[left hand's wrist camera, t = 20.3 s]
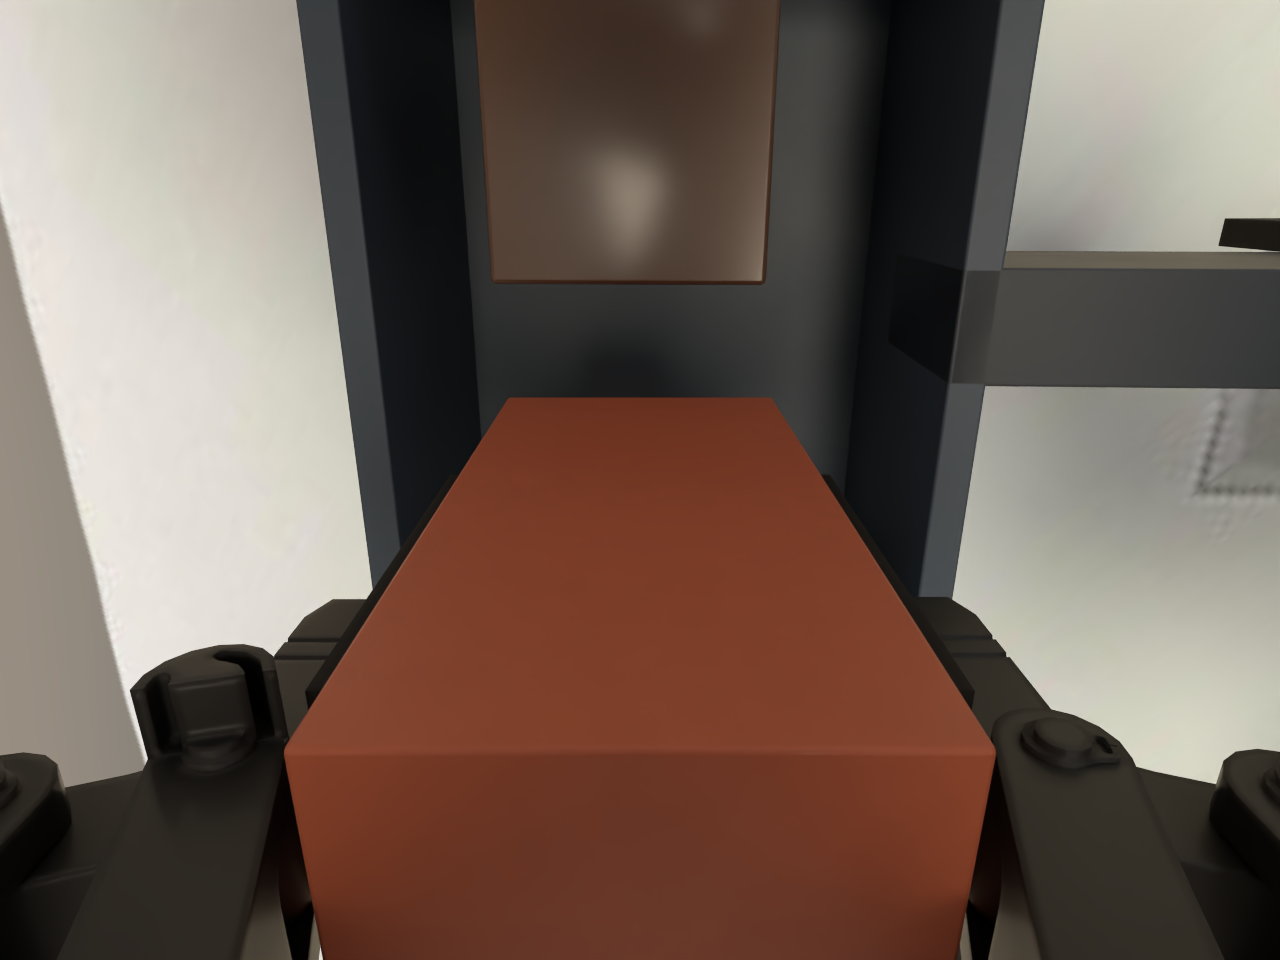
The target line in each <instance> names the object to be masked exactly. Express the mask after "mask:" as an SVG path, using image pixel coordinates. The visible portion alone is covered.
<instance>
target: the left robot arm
mask: <svg viewBox="0 0 1280 960" xmlns="http://www.w3.org/2000/svg"><path fill="white" fill-rule="evenodd" d="M458 476H459V475H450V476H449V477H448V479H447V480H446V482H445V483H444V485H443V486H442V488H441V489H440V491H439V492H438V494H437V495H436V497H435V498H434V500H433V501H432V503H431V504H430V506H429V507H428V509H427V510H426V512H425V513H424V514H423V516H422V517H421V519H420V520H419V522H418V523H417V525H416V526H415V528H414V529H413V531H412V532H411V534H410V535H409V537H408V538H407V540H406V541H405V543H404V544H403V546H402V547H401V549H400V550H399V552H398V553H397V555H396V556H395V558H394V559H393V561H392V562H391V564H390V565H389V567H388V568H387V570H386V571H385V572H384V574H383V575H382V577H381V578H380V580H379V581H378V583H377V584H376V586H375V587H374V589H373V590H372V592H371V593H370V595H369V596H368V598H367V599H333V600H331V601H329V602H328V603H326V604H325V605H323V606H322V607H320V608H318V609H317V610H315V611H314V612H312V613H311V614H309V615H307V616H306V617H304V619H303V620H302V621H301V622H300V624H299V625H298V626H297V627H296V629H295V630H294V631H293V633H292V634H291V635H290V636H289V638H288V642H285V643H284V644H283V645H282V646H281V648H280V649H279V650H278V652H277V653H276V654H275V655H274V657H273V656H272V655H271V654H269V653H268V652H267V651H266V650H264V649H263V648H259V647H254V646H249V645H245V644H236V645H217V646H213V647H208V648H203V649H199V650H194V651H190V652H188V653H185V654H183V655H180V656H178V657H175V658H173V659H170V660H168V661H165V662H163V663H162V664H160V665H159V666H157V667H156V668H154V669H152V670H151V671H149V672H148V673H146V674H144V675H143V676H142V677H141V678H140V679H139V681H138V682H137V683H136V684H135V685H134V686H133V687H132V688H131V689H130V693H131V697H132V700H133V704H134V708H135V712H136V716H137V719H138V723H139V727H140V731H141V734H142V738H143V742H144V746H145V750H146V753H147V757H148V760H147V762H146V765H145V767H144V769H143V771H139V772H136V773H132V774H129V775H124V776H119V777H114V778H109V779H105V780H100V781H95V782H90V783H85V784H80V785H76V786H71V787H66V788H65V787H64V784H63V780H62V777H61V774H60V771H59V768H58V765H57V764H56V763H55V762H54V761H52V760H51V759H50V758H48V757H47V756H46V755H39V754H32V753H16V754H8V755H1V756H0V960H319V952H320V941H319V935H318V930H317V925H316V920H315V914H314V909H313V904H312V899H311V894H310V888H309V883H308V878H307V873H306V867H305V862H304V857H303V852H302V846H301V841H300V836H299V831H298V825H297V820H296V815H295V810H294V805H293V799H292V794H291V789H290V784H289V778H288V773H287V768H286V763H285V757H284V750H285V747H286V745H287V743H288V742H289V740H290V739H291V737H292V735H293V734H294V732H295V731H296V729H297V728H298V726H299V725H300V723H301V721H302V720H303V718H304V717H305V715H306V714H307V712H308V710H309V709H310V707H311V706H312V704H313V703H314V701H315V700H316V698H317V696H318V695H319V693H320V692H321V690H322V689H323V687H324V685H325V684H326V682H327V681H328V679H329V678H330V676H331V675H332V673H333V671H334V670H335V668H336V667H337V665H338V664H339V662H340V660H341V659H342V657H343V656H344V654H345V653H346V651H347V650H348V648H349V646H350V645H351V643H352V642H353V640H354V639H355V637H356V635H357V634H358V632H359V631H360V629H361V628H362V626H363V625H364V623H365V621H366V620H367V618H368V617H369V615H370V614H371V612H372V611H373V609H374V607H375V606H376V604H377V603H378V601H379V600H380V598H381V596H382V595H383V593H384V592H385V590H386V589H387V587H388V586H389V584H390V582H391V581H392V579H393V578H394V576H395V575H396V573H397V571H398V570H399V568H400V567H401V565H402V564H403V562H404V561H405V559H406V557H407V556H408V554H409V553H410V551H411V550H412V548H413V546H414V545H415V543H416V542H417V540H418V539H419V537H420V536H421V534H422V532H423V531H424V529H425V528H426V526H427V525H428V523H429V521H430V520H431V518H432V517H433V515H434V514H435V512H436V511H437V509H438V507H439V506H440V504H441V503H442V501H443V500H444V498H445V496H446V495H447V493H448V492H449V490H450V489H451V487H452V486H453V484H454V482H455V481H456V479H457V478H458ZM821 476H822V478H823V479H824V481H825V482H826V484H827V486H828V487H829V489H830V490H831V492H832V493H833V495H834V496H835V498H836V500H837V501H838V503H839V504H840V506H841V507H842V509H843V511H844V512H845V514H846V515H847V517H848V518H849V520H850V521H851V523H852V525H853V526H854V528H855V529H856V531H857V532H858V534H859V536H860V537H861V539H862V540H863V542H864V543H865V545H866V546H867V548H868V550H869V551H870V553H871V554H872V556H873V557H874V559H875V561H876V562H877V564H878V565H879V567H880V568H881V570H882V572H883V573H884V575H885V576H886V578H887V579H888V581H889V582H890V584H891V586H892V587H893V589H894V590H895V592H896V593H897V595H898V597H899V598H900V600H901V601H902V603H903V604H904V606H905V607H906V609H907V611H908V612H909V614H910V615H911V617H912V618H913V620H914V622H915V623H916V625H917V626H918V628H919V629H920V631H921V632H922V634H923V636H924V637H925V639H926V640H927V642H928V643H929V645H930V647H931V648H932V650H933V651H934V653H935V654H936V656H937V657H938V659H939V661H940V662H941V664H942V665H943V667H944V668H945V670H946V672H947V673H948V675H949V676H950V678H951V679H952V681H953V683H954V684H955V686H956V687H957V689H958V690H959V692H960V693H961V695H962V697H963V698H964V700H965V701H966V703H967V704H968V706H969V708H970V709H971V711H972V712H973V714H974V715H975V717H976V718H977V720H978V722H979V723H980V725H981V726H982V728H983V729H984V731H985V733H986V734H987V736H988V737H989V739H990V740H991V742H992V743H993V745H994V747H995V750H996V757H995V762H994V767H993V773H992V778H991V783H990V788H989V794H988V799H987V804H986V809H985V815H984V820H983V825H982V830H981V835H980V841H979V846H978V851H977V856H976V862H975V867H974V872H973V877H972V883H971V888H970V893H969V898H968V904H967V909H966V914H965V919H964V924H963V930H962V935H961V940H960V945H959V951H958V956H957V960H961V959H962V960H1280V752H1277V751H1269V750H1262V749H1253V750H1245V751H1237V752H1235V753H1233V754H1232V755H1231V756H1229V757H1228V758H1227V759H1225V760H1224V761H1223V764H1222V767H1221V771H1220V774H1219V777H1218V780H1217V783H1216V784H1212V783H1207V782H1202V781H1197V780H1192V779H1187V778H1183V777H1178V776H1173V775H1168V774H1163V773H1158V772H1154V771H1150V770H1146V769H1142V768H1139V767H1136V765H1135V763H1134V761H1133V759H1132V757H1131V756H1130V755H1129V753H1128V752H1127V751H1126V749H1125V748H1124V747H1123V745H1122V744H1121V743H1120V741H1118V740H1117V739H1115V738H1114V737H1113V736H1111V735H1110V734H1109V733H1107V732H1106V731H1104V730H1103V729H1102V728H1100V727H1099V726H1097V725H1094V724H1092V723H1090V722H1088V721H1086V720H1083V719H1081V718H1079V717H1077V716H1075V715H1071V714H1067V713H1063V712H1059V711H1055V710H1051V709H1050V707H1049V706H1048V705H1047V704H1046V702H1045V701H1044V700H1043V698H1042V697H1041V696H1040V695H1039V693H1038V692H1037V691H1036V690H1035V688H1034V687H1033V686H1032V685H1031V683H1030V682H1029V681H1028V680H1027V678H1026V677H1025V676H1024V675H1023V673H1022V672H1021V671H1020V670H1019V668H1018V667H1017V666H1016V665H1015V663H1014V662H1013V661H1012V660H1011V658H1010V657H1006V652H1005V651H1004V649H1003V648H1002V647H1001V646H1000V644H999V643H998V642H997V641H996V640H993V639H992V634H991V633H990V632H989V631H988V629H987V628H986V627H985V626H984V624H983V623H982V622H981V621H980V619H979V618H978V617H977V616H976V614H974V613H972V612H971V611H969V610H968V609H966V608H964V607H963V606H961V605H960V604H958V603H956V602H955V601H953V600H952V599H950V598H949V597H912V596H911V595H910V593H909V592H908V590H907V589H906V587H905V586H904V584H903V583H902V581H901V580H900V578H899V577H898V576H897V574H896V573H895V571H894V570H893V568H892V567H891V565H890V564H889V562H888V561H887V559H886V558H885V556H884V555H883V553H882V552H881V550H880V549H879V547H878V546H877V544H876V543H875V541H874V540H873V538H872V537H871V535H870V534H869V532H868V531H867V529H866V528H865V526H864V525H863V523H862V522H861V520H860V519H859V518H858V516H857V515H856V513H855V512H854V510H853V509H852V507H851V506H850V504H849V503H848V501H847V500H846V498H845V497H844V495H843V494H842V492H841V491H840V489H839V488H838V486H837V485H836V483H835V482H834V480H833V479H832V477H831V476H830V475H821Z"/></svg>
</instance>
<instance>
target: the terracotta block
mask: <svg viewBox="0 0 1280 960" xmlns="http://www.w3.org/2000/svg"><path fill="white" fill-rule="evenodd" d="M284 757H285V763H286V768H287V773H288V778H289V784H290V789H291V794H292V799H293V805H294V810H295V815H296V820H297V825H298V831H299V836H300V841H301V846H302V852H303V857H304V862H305V867H306V873H307V878H308V883H309V888H310V894H311V899H312V904H313V909H314V914H315V920H316V925H317V930H318V935H319V941H320V946H321V951H322V956H323V960H957V956H958V951H959V945H960V940H961V935H962V930H963V924H964V919H965V914H966V909H967V904H968V898H969V893H970V888H971V883H972V877H973V872H974V867H975V862H976V856H977V851H978V846H979V841H980V835H981V830H982V825H983V820H984V815H985V809H986V804H987V799H988V794H989V788H990V783H991V778H992V773H993V767H994V762H995V757H996V750H995V747H994V745H993V743H992V742H991V740H990V739H989V737H988V736H987V734H986V733H985V731H984V729H983V728H982V726H981V725H980V723H979V722H978V720H977V718H976V717H975V715H974V714H973V712H972V711H971V709H970V708H969V706H968V704H967V703H966V701H965V700H964V698H963V697H962V695H961V693H960V692H959V690H958V689H957V687H956V686H955V684H954V683H953V681H952V679H951V678H950V676H949V675H948V673H947V672H946V670H945V668H944V667H943V665H942V664H941V662H940V661H939V659H938V657H937V656H936V654H935V653H934V651H933V650H932V648H931V647H930V645H929V643H928V642H927V640H926V639H925V637H924V636H923V634H922V632H921V631H920V629H919V628H918V626H917V625H916V623H915V622H914V620H913V618H912V617H911V615H910V614H909V612H908V611H907V609H906V607H905V606H904V604H903V603H902V601H901V600H900V598H899V597H898V595H897V593H896V592H895V590H894V589H893V587H892V586H891V584H890V582H889V581H888V579H887V578H886V576H885V575H884V573H883V572H882V570H881V568H880V567H879V565H878V564H877V562H876V561H875V559H874V557H873V556H872V554H871V553H870V551H869V550H868V548H867V546H866V545H865V543H864V542H863V540H862V539H861V537H860V536H859V534H858V532H857V531H856V529H855V528H854V526H853V525H852V523H851V521H850V520H849V518H848V517H847V515H846V514H845V512H844V511H843V509H842V507H841V506H840V504H839V503H838V501H837V500H836V498H835V496H834V495H833V493H832V492H831V490H830V489H829V487H828V486H827V484H826V482H825V481H824V479H823V478H822V476H821V475H820V473H819V471H818V470H817V468H816V467H815V465H814V464H813V462H812V461H811V459H810V457H809V456H808V454H807V453H806V451H805V450H804V448H803V446H802V445H801V443H800V442H799V440H798V439H797V437H796V436H795V434H794V432H793V431H792V429H791V428H790V426H789V425H788V423H787V421H786V420H785V418H784V417H783V415H782V414H781V412H780V410H779V409H778V407H777V406H776V404H775V403H774V401H773V400H772V398H508V400H507V401H506V403H505V404H504V406H503V407H502V409H501V411H500V412H499V414H498V415H497V417H496V418H495V420H494V421H493V423H492V425H491V426H490V428H489V429H488V431H487V432H486V434H485V436H484V437H483V439H482V440H481V442H480V443H479V445H478V446H477V448H476V450H475V451H474V453H473V454H472V456H471V457H470V459H469V461H468V462H467V464H466V465H465V467H464V468H463V470H462V471H461V473H460V475H459V476H458V478H457V479H456V481H455V482H454V484H453V486H452V487H451V489H450V490H449V492H448V493H447V495H446V496H445V498H444V500H443V501H442V503H441V504H440V506H439V507H438V509H437V511H436V512H435V514H434V515H433V517H432V518H431V520H430V521H429V523H428V525H427V526H426V528H425V529H424V531H423V532H422V534H421V536H420V537H419V539H418V540H417V542H416V543H415V545H414V546H413V548H412V550H411V551H410V553H409V554H408V556H407V557H406V559H405V561H404V562H403V564H402V565H401V567H400V568H399V570H398V571H397V573H396V575H395V576H394V578H393V579H392V581H391V582H390V584H389V586H388V587H387V589H386V590H385V592H384V593H383V595H382V596H381V598H380V600H379V601H378V603H377V604H376V606H375V607H374V609H373V611H372V612H371V614H370V615H369V617H368V618H367V620H366V621H365V623H364V625H363V626H362V628H361V629H360V631H359V632H358V634H357V635H356V637H355V639H354V640H353V642H352V643H351V645H350V646H349V648H348V650H347V651H346V653H345V654H344V656H343V657H342V659H341V660H340V662H339V664H338V665H337V667H336V668H335V670H334V671H333V673H332V675H331V676H330V678H329V679H328V681H327V682H326V684H325V685H324V687H323V689H322V690H321V692H320V693H319V695H318V696H317V698H316V700H315V701H314V703H313V704H312V706H311V707H310V709H309V710H308V712H307V714H306V715H305V717H304V718H303V720H302V721H301V723H300V725H299V726H298V728H297V729H296V731H295V732H294V734H293V735H292V737H291V739H290V740H289V742H288V743H287V745H286V747H285V750H284Z"/></svg>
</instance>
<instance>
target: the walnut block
mask: <svg viewBox="0 0 1280 960" xmlns="http://www.w3.org/2000/svg"><path fill="white" fill-rule="evenodd" d="M780 8H781V0H474V14H475V30H476V45H477V61H478V77H479V93H480V109H481V124H482V140H483V156H484V172H485V188H486V203H487V219H488V235H489V251H490V267H491V279H492V281H493V283H496V284H620V285H762V284H764V283H765V281H766V269H767V251H768V232H769V213H770V195H771V176H772V157H773V139H774V120H775V102H776V83H777V64H778V46H779V27H780Z"/></svg>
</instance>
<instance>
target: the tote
mask: <svg viewBox="0 0 1280 960" xmlns="http://www.w3.org/2000/svg"><path fill="white" fill-rule="evenodd" d="M296 1H297V9H298V17H299V25H300V32H301V40H302V48H303V55H304V63H305V71H306V79H307V86H308V94H309V102H310V109H311V117H312V125H313V132H314V140H315V148H316V156H317V163H318V171H319V179H320V186H321V194H322V202H323V209H324V217H325V225H326V233H327V240H328V248H329V256H330V263H331V271H332V279H333V287H334V294H335V302H336V310H337V317H338V325H339V333H340V340H341V348H342V356H343V364H344V371H345V379H346V387H347V394H348V402H349V410H350V417H351V425H352V433H353V441H354V448H355V456H356V464H357V471H358V479H359V487H360V495H361V502H362V510H363V518H364V525H365V533H366V541H367V548H368V556H369V564H370V572H371V579H372V587H373V589H374V587H375V586H376V584H377V583H378V581H379V580H380V578H381V577H382V575H383V574H384V572H385V571H386V570H387V568H388V567H389V565H390V564H391V562H392V561H393V559H394V558H395V556H396V555H397V553H398V552H399V550H400V549H401V547H402V546H403V544H404V543H405V541H406V540H407V538H408V537H409V535H410V534H411V532H412V531H413V529H414V528H415V526H416V525H417V523H418V522H419V520H420V519H421V517H422V516H423V514H424V513H425V512H426V510H427V509H428V507H429V506H430V504H431V503H432V501H433V500H434V498H435V497H436V495H437V494H438V492H439V491H440V489H441V488H442V486H443V485H444V483H445V482H446V480H447V479H448V477H449V476H450V475H460V473H461V471H462V470H463V468H464V467H465V465H466V464H467V462H468V461H469V459H470V457H471V456H472V454H473V453H474V451H475V450H476V448H477V446H478V445H479V443H480V442H481V440H482V439H483V437H484V436H485V434H486V432H487V431H488V429H489V428H490V426H491V425H492V423H493V421H494V420H495V418H496V417H497V415H498V414H499V412H500V411H501V409H502V407H503V406H504V404H505V403H506V401H507V400H508V398H772V400H773V401H774V403H775V404H776V406H777V407H778V409H779V410H780V412H781V414H782V415H783V417H784V418H785V420H786V421H787V423H788V425H789V426H790V428H791V429H792V431H793V432H794V434H795V436H796V437H797V439H798V440H799V442H800V443H801V445H802V446H803V448H804V450H805V451H806V453H807V454H808V456H809V457H810V459H811V461H812V462H813V464H814V465H815V467H816V468H817V470H818V471H819V473H820V475H830V476H831V477H832V479H833V480H834V482H835V483H836V485H837V486H838V488H839V489H840V491H841V492H842V494H843V495H844V497H845V498H846V500H847V501H848V503H849V504H850V506H851V507H852V509H853V510H854V512H855V513H856V515H857V516H858V518H859V519H860V520H861V522H862V523H863V525H864V526H865V528H866V529H867V531H868V532H869V534H870V535H871V537H872V538H873V540H874V541H875V543H876V544H877V546H878V547H879V549H880V550H881V552H882V553H883V555H884V556H885V558H886V559H887V561H888V562H889V564H890V565H891V567H892V568H893V570H894V571H895V573H896V574H897V576H898V577H899V578H900V580H901V581H902V583H903V584H904V586H905V587H906V589H907V590H908V592H909V593H910V595H911V596H912V597H949V598H950V599H952V596H953V590H954V583H955V577H956V570H957V564H958V557H959V551H960V545H961V538H962V532H963V525H964V519H965V512H966V506H967V499H968V493H969V486H970V480H971V474H972V467H973V461H974V454H975V448H976V441H977V435H978V428H979V422H980V415H981V409H982V402H983V396H984V390H985V386H1037V387H1133V388H1230V389H1280V252H1087V251H1006V248H1007V241H1008V235H1009V228H1010V222H1011V215H1012V209H1013V202H1014V196H1015V189H1016V183H1017V177H1018V170H1019V164H1020V157H1021V151H1022V144H1023V138H1024V131H1025V125H1026V118H1027V112H1028V105H1029V99H1030V93H1031V86H1032V80H1033V73H1034V67H1035V60H1036V54H1037V47H1038V41H1039V34H1040V28H1041V22H1042V15H1043V9H1044V2H1045V0H781V8H780V27H779V46H778V64H777V83H776V102H775V120H774V139H773V157H772V176H771V195H770V213H769V232H768V251H767V269H766V281H765V283H764V284H762V285H620V284H496V283H493V281H492V279H491V267H490V251H489V235H488V219H487V203H486V188H485V172H484V156H483V140H482V124H481V109H480V93H479V77H478V61H477V45H476V30H475V14H474V0H296Z"/></svg>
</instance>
